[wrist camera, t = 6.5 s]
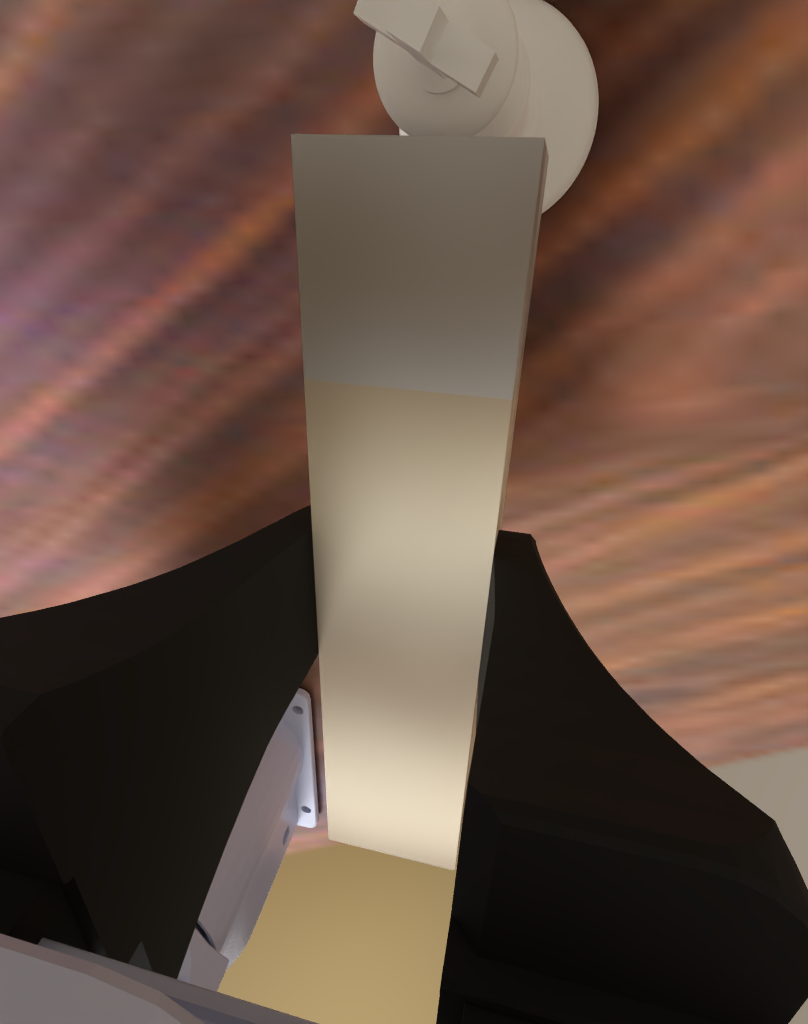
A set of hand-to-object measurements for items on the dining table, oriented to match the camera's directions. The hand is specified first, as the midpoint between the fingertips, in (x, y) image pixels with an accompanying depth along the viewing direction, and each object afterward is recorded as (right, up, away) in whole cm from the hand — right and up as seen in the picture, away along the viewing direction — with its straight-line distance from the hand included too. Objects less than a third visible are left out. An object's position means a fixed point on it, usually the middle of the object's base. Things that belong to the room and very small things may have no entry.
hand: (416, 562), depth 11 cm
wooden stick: (0, +1, +2) cm, 2 cm away
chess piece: (+2, +11, +4) cm, 12 cm away
